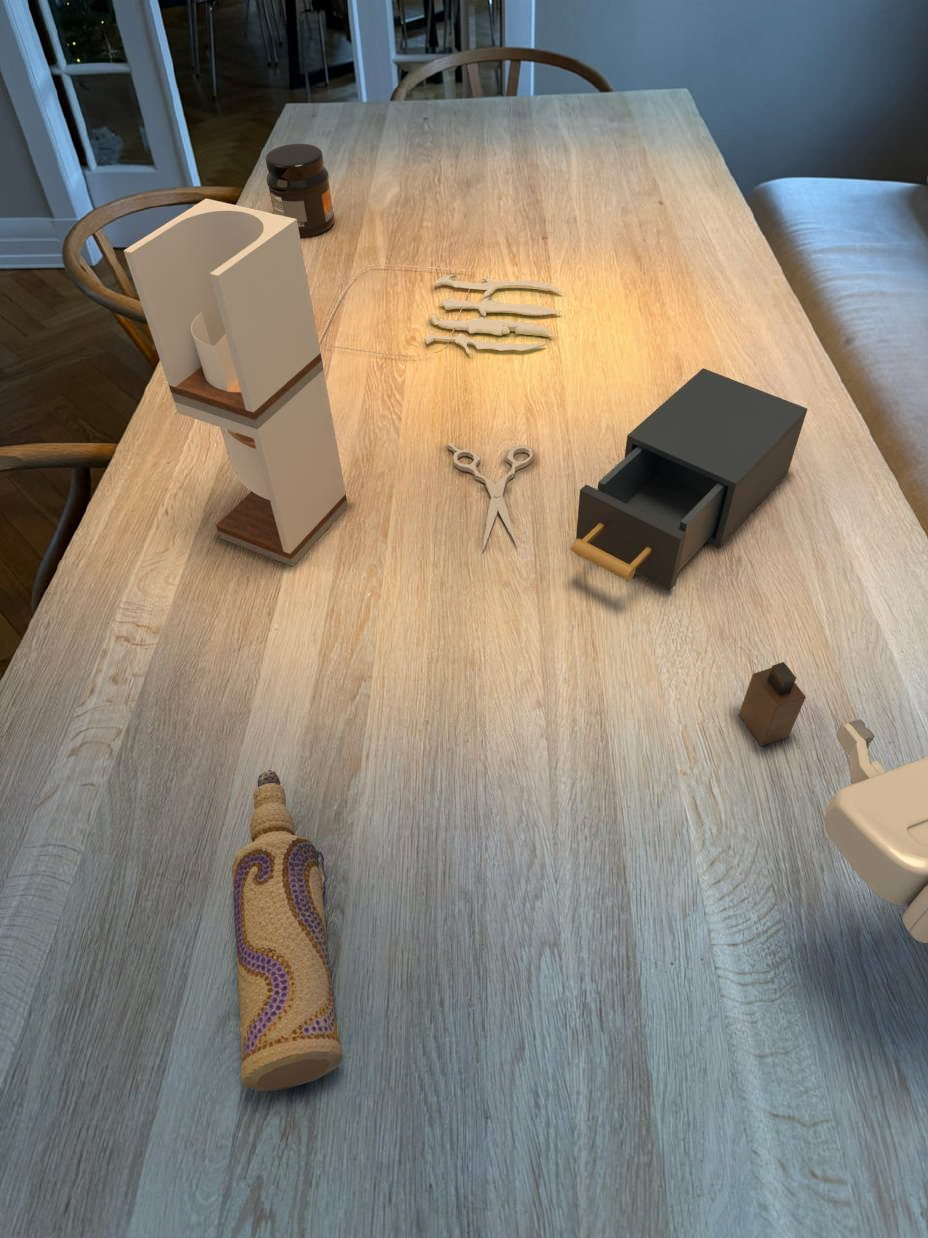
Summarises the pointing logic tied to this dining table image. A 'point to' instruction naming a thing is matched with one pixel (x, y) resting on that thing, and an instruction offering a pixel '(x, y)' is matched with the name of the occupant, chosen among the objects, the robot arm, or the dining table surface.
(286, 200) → the supplement container
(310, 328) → the slotted cup holder tower
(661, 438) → the cabinet
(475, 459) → the scissors
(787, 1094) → the dining table surface
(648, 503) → the drawer
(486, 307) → the driftwood wall hanging
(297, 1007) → the decorative bottle
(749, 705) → the small brown bottle
